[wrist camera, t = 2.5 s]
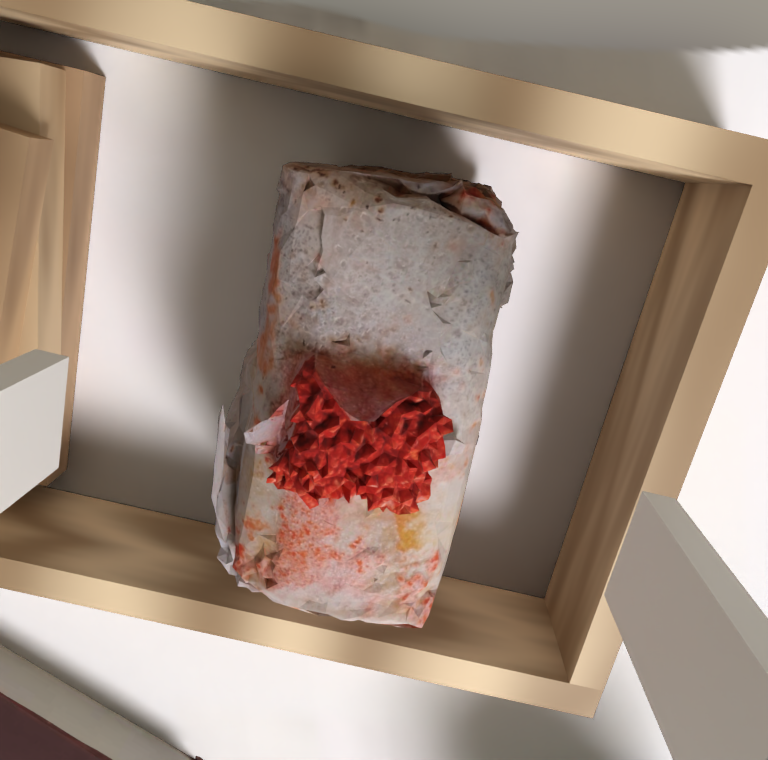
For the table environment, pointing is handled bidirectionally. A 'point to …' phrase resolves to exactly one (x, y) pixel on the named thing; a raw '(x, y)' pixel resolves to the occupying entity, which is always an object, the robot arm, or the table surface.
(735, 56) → the table surface
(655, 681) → the robot arm
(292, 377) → the food item
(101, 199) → the table surface
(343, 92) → the tray
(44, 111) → the offcut stack
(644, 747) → the table surface
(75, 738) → the book
